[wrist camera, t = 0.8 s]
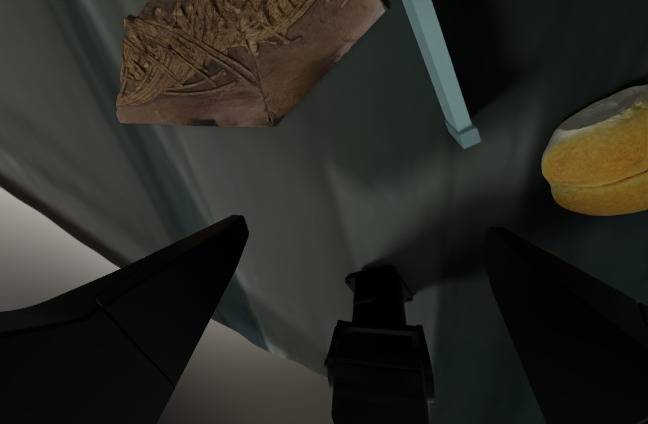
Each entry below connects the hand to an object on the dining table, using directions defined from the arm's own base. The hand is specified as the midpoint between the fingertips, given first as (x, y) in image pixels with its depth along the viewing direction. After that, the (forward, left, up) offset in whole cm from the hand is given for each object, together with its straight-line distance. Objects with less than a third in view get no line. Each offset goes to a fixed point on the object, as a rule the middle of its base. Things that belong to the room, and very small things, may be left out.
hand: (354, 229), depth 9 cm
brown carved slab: (+10, +8, -14) cm, 19 cm away
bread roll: (-10, -14, -14) cm, 22 cm away
